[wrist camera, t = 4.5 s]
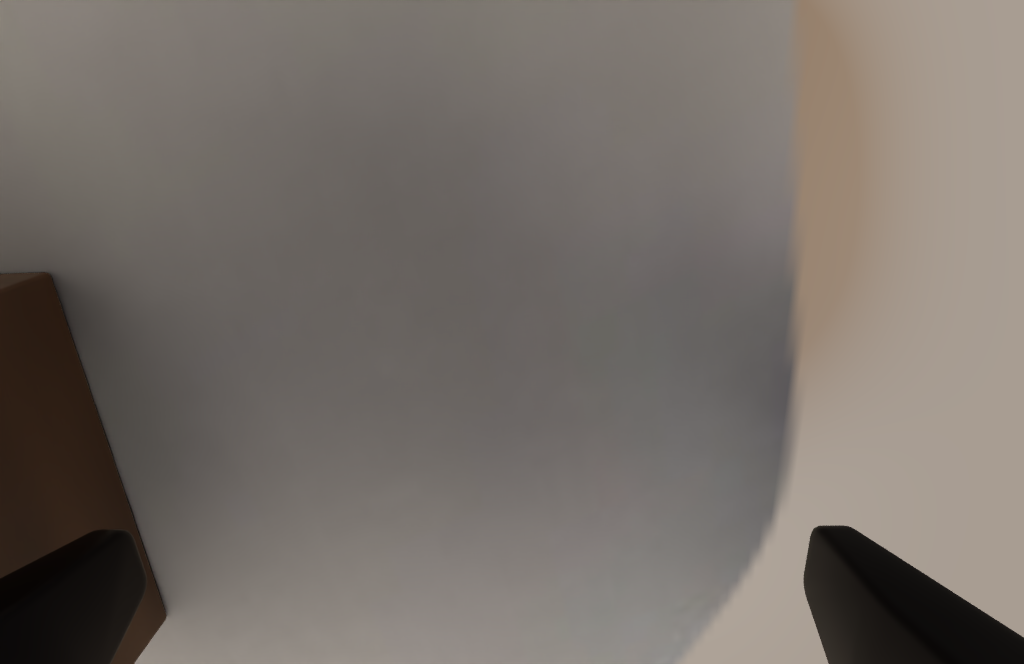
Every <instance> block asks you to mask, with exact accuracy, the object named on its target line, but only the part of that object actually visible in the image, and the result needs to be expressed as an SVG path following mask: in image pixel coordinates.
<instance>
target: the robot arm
mask: <svg viewBox="0 0 1024 664" xmlns="http://www.w3.org/2000/svg"><path fill="white" fill-rule="evenodd" d="M146 587H147V575H146V572H145V569H144V566H143V563H142V560H141V557H140V554H139V551H138V548H137V545H136V542H135V539H134V537H133V535H132V534H131V533H130V532H129V531H127V530H123V529H101V530H95V531H92V532H90V533H88V534H86V535H84V536H82V537H80V538H78V539H76V540H74V541H72V542H70V543H68V544H67V545H65V546H63V547H61V548H59V549H57V550H55V551H53V552H51V553H49V554H47V555H45V556H43V557H41V558H39V559H37V560H35V561H33V562H31V563H29V564H28V565H26V566H24V567H22V568H20V569H18V570H16V571H14V572H12V573H10V574H8V575H6V576H4V577H2V578H0V664H111V663H112V661H113V659H114V657H115V655H116V653H117V650H118V648H119V646H120V644H121V642H122V640H123V638H124V636H125V634H126V632H127V630H128V628H129V626H130V624H131V622H132V620H133V618H134V616H135V614H136V611H137V609H138V607H139V605H140V603H141V601H142V599H143V597H144V595H145V591H146ZM804 589H805V594H806V597H807V601H808V604H809V606H810V609H811V612H812V615H813V618H814V621H815V624H816V627H817V630H818V633H819V636H820V639H821V642H822V645H823V648H824V651H825V653H826V657H827V660H828V663H829V664H1024V637H1022V636H1020V635H1019V634H1017V633H1016V632H1014V631H1013V630H1011V629H1009V628H1008V627H1006V626H1005V625H1003V624H1002V623H1000V622H999V621H997V620H995V619H994V618H992V617H991V616H989V615H988V614H986V613H984V612H983V611H981V610H980V609H978V608H977V607H975V606H974V605H972V604H970V603H969V602H967V601H966V600H964V599H963V598H961V597H959V596H958V595H956V594H955V593H953V592H952V591H950V590H949V589H947V588H945V587H944V586H942V585H940V584H939V583H938V582H936V581H935V580H933V579H931V578H930V577H928V576H927V575H925V574H924V573H922V572H921V571H919V570H917V569H916V568H914V567H913V566H911V565H910V564H908V563H906V562H905V561H903V560H902V559H900V558H899V557H897V556H896V555H894V554H892V553H891V552H889V551H888V550H886V549H884V548H883V547H881V546H880V545H878V544H877V543H875V542H874V541H872V540H870V539H869V538H867V537H866V536H864V535H863V534H861V533H860V532H858V531H857V530H855V529H853V528H851V527H849V526H818V527H816V528H814V529H813V531H812V534H811V536H810V542H809V548H808V555H807V560H806V565H805V571H804Z"/></svg>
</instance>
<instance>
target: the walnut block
mask: <svg viewBox="0 0 1024 664" xmlns="http://www.w3.org/2000/svg"><path fill="white" fill-rule="evenodd" d="M101 529H123V530H127V531H129V532H130V533H131V534H132V535H133V537H134V539H135V542H136V545H137V548H138V551H139V554H140V557H141V560H142V563H143V566H144V569H145V572H146V575H147V587H146V591H145V595H144V597H143V599H142V601H141V603H140V605H139V607H138V609H137V611H136V614H135V616H134V618H133V620H132V622H131V624H130V626H129V628H128V630H127V632H126V634H125V636H124V638H123V640H122V642H121V644H120V646H119V648H118V650H117V653H116V655H115V657H114V659H113V661H112V663H111V664H134V663H135V661H136V660H137V659H138V657H139V656H140V654H141V653H142V652H143V650H144V649H145V647H146V646H147V645H148V643H149V642H150V640H151V639H152V638H153V636H154V635H155V633H156V632H157V631H158V629H159V628H160V626H161V625H162V624H163V622H164V621H165V620H166V616H167V615H166V612H165V609H164V606H163V603H162V600H161V597H160V595H159V592H158V589H157V586H156V583H155V580H154V577H153V574H152V571H151V568H150V565H149V562H148V559H147V556H146V553H145V551H144V548H143V545H142V542H141V539H140V536H139V533H138V530H137V527H136V524H135V521H134V518H133V515H132V512H131V509H130V507H129V504H128V501H127V498H126V495H125V492H124V489H123V486H122V483H121V480H120V477H119V474H118V471H117V468H116V465H115V463H114V460H113V457H112V454H111V451H110V448H109V445H108V442H107V439H106V436H105V433H104V430H103V427H102V424H101V421H100V419H99V416H98V413H97V410H96V407H95V404H94V401H93V398H92V395H91V392H90V389H89V386H88V383H87V380H86V377H85V375H84V372H83V369H82V366H81V363H80V360H79V357H78V354H77V351H76V348H75V345H74V342H73V339H72V336H71V333H70V331H69V328H68V325H67V322H66V319H65V316H64V313H63V310H62V307H61V304H60V301H59V298H58V295H57V292H56V289H55V287H54V284H53V281H52V278H51V275H50V274H49V273H45V272H40V273H12V274H0V578H2V577H4V576H6V575H8V574H10V573H12V572H14V571H16V570H18V569H20V568H22V567H24V566H26V565H28V564H29V563H31V562H33V561H35V560H37V559H39V558H41V557H43V556H45V555H47V554H49V553H51V552H53V551H55V550H57V549H59V548H61V547H63V546H65V545H67V544H68V543H70V542H72V541H74V540H76V539H78V538H80V537H82V536H84V535H86V534H88V533H90V532H92V531H95V530H101Z"/></svg>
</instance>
